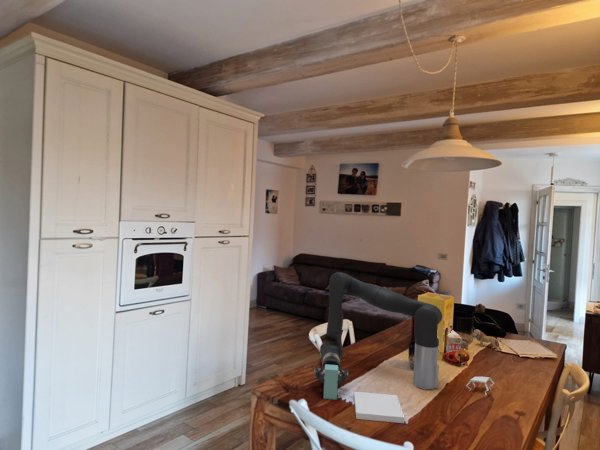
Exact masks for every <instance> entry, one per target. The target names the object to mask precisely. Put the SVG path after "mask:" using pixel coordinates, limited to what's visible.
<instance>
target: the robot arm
mask: <svg viewBox="0 0 600 450" xmlns="http://www.w3.org/2000/svg"><path fill="white" fill-rule="evenodd" d="M328 283H329V284H328V285H329V307H328V309H329V310H328V318H327V325H326V332H325V333H326V336H327V337H329V338H331V339H333V340H335V342H336V343H335V342H330V341H324V342H322V343H321V345H320V347H319V353H320V356H321V358H322V362H321V363H322V364H321V367H320V368H319V367H318V366H314V368H313V369H314V370H313V374H314V376H315V379H317V380H320V383H322V384H323V385H324V380H325V379H324V377H325V364H328V365H338V383H337V385H338V386H340V385H341V384H342V381H343V382H346V380H347V379H348V378H349V369H347V368H345V369H344V370H343V369H342V368H341V359H342V357H343V355H344V348H343V340H342V334H343V326H344V314H343V313H344V312H343V296H344V294H347V295H351V296H354V297H357V298H359V299H361V300H363V301H365V302H366V303H367V304H370V305H371V306H373V307H375V308H378V309H380V310H382V311H386V312H391V313H395V314H401V315H402V314H403V315H405V316H406V315H408V316H409V317H412V318H414V322H413V323H414V325H413V326H414V330H413V333H414V334H413V335H414V338H415V339H414V341H415V342H414V355H413V356H414V357H413V358H414V359H413V371H412V373H413V375H412V385H413V386H415V385H416V386H417V387H416V386H415V387H416V388H418V387H420V388H419V389H421V388H424V389H423V390H426V389H432V390H435V389H434V388H438V389H439V371H440V370H439V369H440V366H439V364H438V361H439V360H438V359H439V350H438V346H439V339H438V338H437V330H438V325H439V324H440V323H441V321H442V320H443V314H442V313H443V312H442V311H441V310H440V308H439V307H438V306H436V305H435V304H432V303H428V302H424V301H419V300H417V299H413V298H410V297H408V296H406V295H402V294H401V293H398V292H395V291H393V290H391V289H389V288H385V287H383V286H379V285H377V284H372V283H369V282H368V283H367V282H363V281H361V280H359V279H357V278H355V277H354V276H352V275H349V274H347V273H346V272H345V273H344V272H341V271H337V272H335V273H332V274H331V276H330V278H329V282H328Z"/></svg>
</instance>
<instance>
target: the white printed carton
mask: <svg viewBox="0 0 600 450" xmlns="http://www.w3.org/2000/svg"><path fill="white" fill-rule="evenodd" d="M451 330H452V331H451V333H449V334H448V335H447V345H446V351H447V352H448V353H449V352H452V351H461V352H462V343H463V338H462V337H461V336H460V334H458V333H457V332H456V331H454V330H453V329H451Z"/></svg>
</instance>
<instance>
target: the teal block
mask: <svg viewBox="0 0 600 450" xmlns="http://www.w3.org/2000/svg"><path fill="white" fill-rule="evenodd" d="M324 379H325V380H324V384H323V396H322V397H323V398H322V399H326V400H338V386H339V385H337V383H338V365H328V364H325V377H324Z"/></svg>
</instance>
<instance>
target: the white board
mask: <svg viewBox="0 0 600 450" xmlns="http://www.w3.org/2000/svg"><path fill="white" fill-rule="evenodd" d="M353 400H354V401H353V402H354V411H355V419H357V420H363V421H375V422H376V421H377V422H388V423H399V424H405V420H406V419H405V415H404V412H403V409H402V405H401V404H400V401H399V398H398V395H397V394H387V393H386V394H385V393H376V392H364V391H353Z"/></svg>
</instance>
